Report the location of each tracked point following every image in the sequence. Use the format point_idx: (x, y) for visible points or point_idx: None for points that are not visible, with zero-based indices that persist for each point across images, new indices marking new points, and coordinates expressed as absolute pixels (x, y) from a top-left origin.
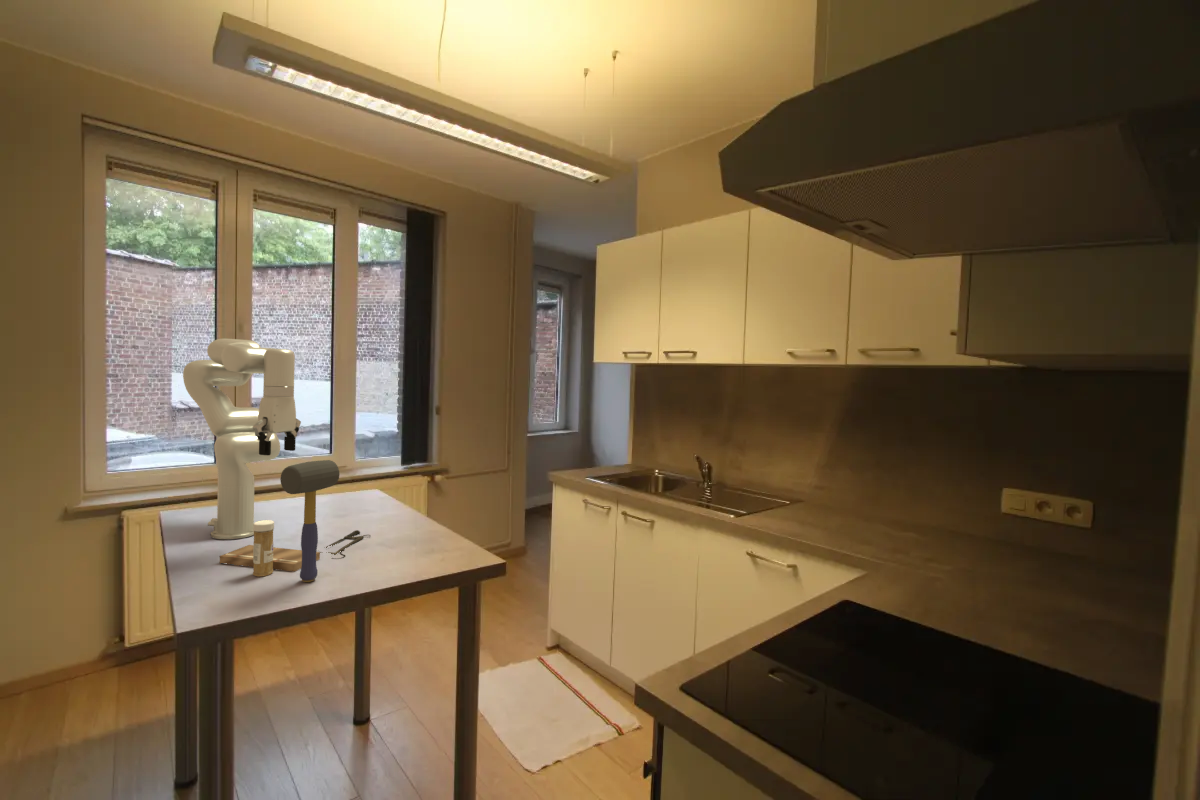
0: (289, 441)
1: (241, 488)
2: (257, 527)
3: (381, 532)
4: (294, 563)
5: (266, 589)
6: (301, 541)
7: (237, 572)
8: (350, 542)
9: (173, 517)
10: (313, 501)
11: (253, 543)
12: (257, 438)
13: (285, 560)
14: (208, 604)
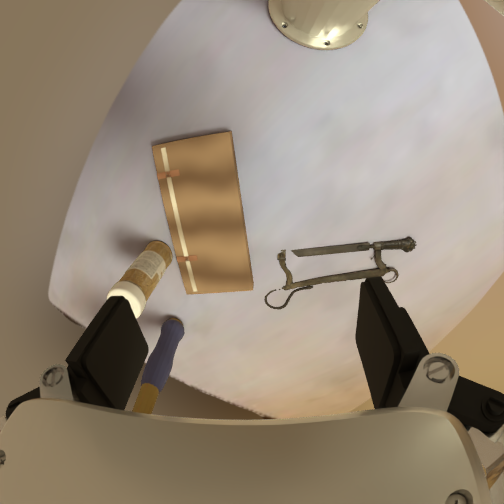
0: (375, 364)
1: None
2: None
3: (423, 276)
4: (188, 292)
5: None
6: (147, 361)
7: (143, 212)
8: (349, 274)
9: None
10: None
11: (125, 272)
12: (42, 375)
13: (189, 272)
14: (74, 273)
